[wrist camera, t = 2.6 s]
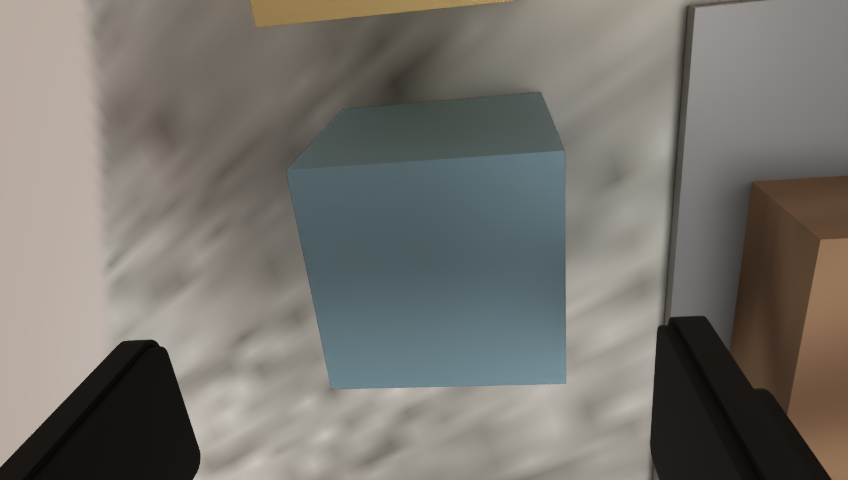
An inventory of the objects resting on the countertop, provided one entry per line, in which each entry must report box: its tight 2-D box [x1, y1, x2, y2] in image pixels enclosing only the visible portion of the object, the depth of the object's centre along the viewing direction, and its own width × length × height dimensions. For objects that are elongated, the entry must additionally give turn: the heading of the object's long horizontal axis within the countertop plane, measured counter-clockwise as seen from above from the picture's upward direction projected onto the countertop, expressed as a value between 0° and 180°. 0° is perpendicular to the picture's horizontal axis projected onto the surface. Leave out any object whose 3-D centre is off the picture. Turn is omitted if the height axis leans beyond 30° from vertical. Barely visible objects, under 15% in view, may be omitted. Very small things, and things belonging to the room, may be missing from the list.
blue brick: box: [286, 92, 566, 389], centre depth 17 cm, size 6×6×6 cm
